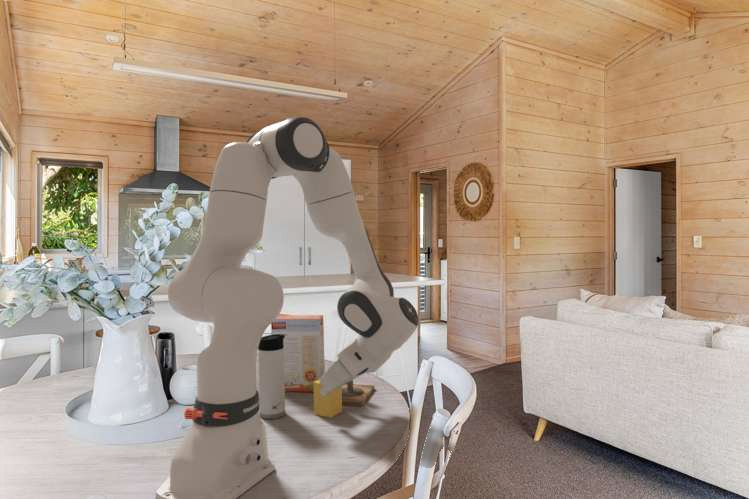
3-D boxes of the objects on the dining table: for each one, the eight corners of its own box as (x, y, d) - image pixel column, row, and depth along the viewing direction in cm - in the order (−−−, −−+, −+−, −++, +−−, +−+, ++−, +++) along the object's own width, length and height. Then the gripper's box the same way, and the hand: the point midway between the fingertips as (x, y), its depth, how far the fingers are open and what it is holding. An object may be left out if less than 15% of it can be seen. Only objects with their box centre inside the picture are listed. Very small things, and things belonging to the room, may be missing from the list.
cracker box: (325, 386, 151) (324, 314, 150) (321, 392, 145) (320, 318, 144) (278, 385, 153) (276, 314, 152) (272, 391, 147) (270, 317, 146)
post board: (361, 406, 134) (361, 363, 134) (324, 403, 137) (323, 361, 136) (374, 388, 148) (373, 350, 147) (340, 386, 150) (339, 348, 150)
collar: (331, 417, 127) (330, 385, 126) (314, 414, 129) (313, 382, 129) (342, 411, 131) (341, 379, 131) (325, 407, 134) (324, 376, 133)
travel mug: (280, 420, 126) (279, 337, 125) (255, 418, 127) (253, 337, 126) (290, 410, 132) (288, 332, 131) (265, 409, 133) (263, 331, 132)
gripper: (379, 334, 134) (347, 367, 139) (336, 352, 116) (301, 389, 121) (395, 353, 132) (362, 385, 137) (354, 375, 114) (318, 411, 119)
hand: (333, 387), depth 129 cm, fingers open, 8 cm apart
